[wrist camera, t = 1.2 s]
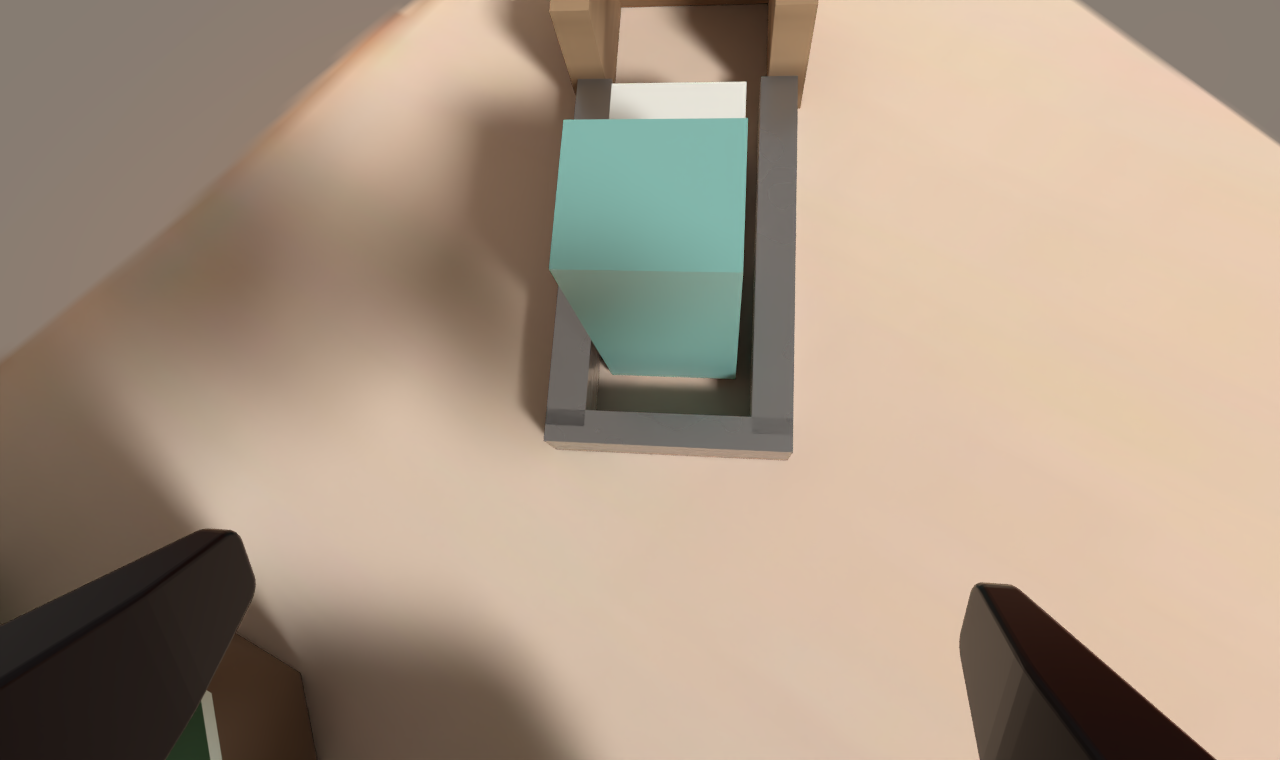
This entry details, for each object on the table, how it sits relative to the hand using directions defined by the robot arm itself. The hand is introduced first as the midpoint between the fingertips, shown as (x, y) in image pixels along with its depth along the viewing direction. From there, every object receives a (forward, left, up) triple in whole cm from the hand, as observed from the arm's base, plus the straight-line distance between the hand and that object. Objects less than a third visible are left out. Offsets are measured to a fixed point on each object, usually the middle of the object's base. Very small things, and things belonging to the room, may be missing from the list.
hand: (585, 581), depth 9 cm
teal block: (+7, +7, -14) cm, 17 cm away
